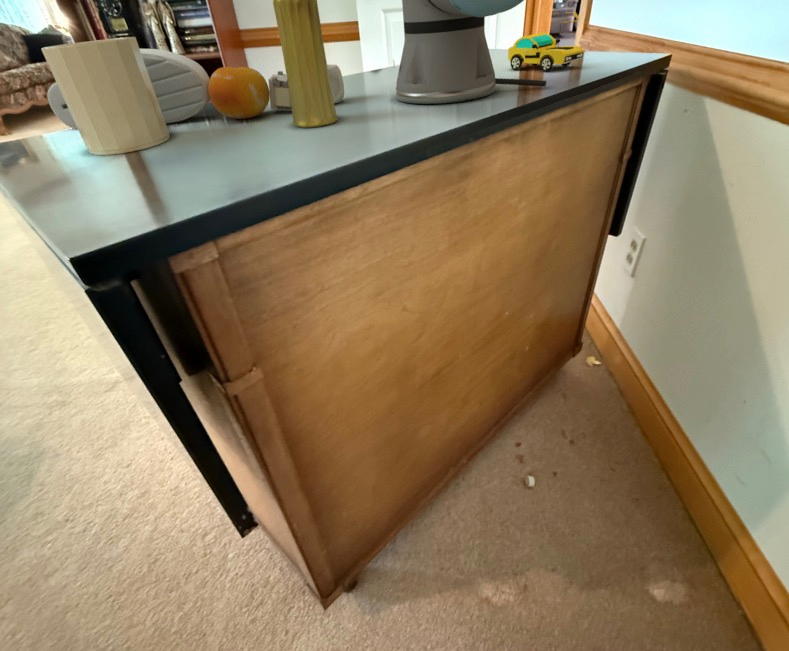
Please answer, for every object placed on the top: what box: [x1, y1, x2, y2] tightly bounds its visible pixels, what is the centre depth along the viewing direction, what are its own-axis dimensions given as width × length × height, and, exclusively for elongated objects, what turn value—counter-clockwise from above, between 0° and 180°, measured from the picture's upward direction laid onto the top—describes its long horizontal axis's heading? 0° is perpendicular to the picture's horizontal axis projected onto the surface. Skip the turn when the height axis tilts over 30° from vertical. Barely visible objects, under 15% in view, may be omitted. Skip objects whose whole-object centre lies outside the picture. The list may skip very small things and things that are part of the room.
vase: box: [272, 0, 339, 129], centre depth 60 cm, size 6×6×14 cm
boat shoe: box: [46, 48, 211, 130], centre depth 75 cm, size 10×29×10 cm
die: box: [327, 64, 345, 104], centre depth 74 cm, size 5×5×5 cm
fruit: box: [208, 66, 270, 120], centre depth 70 cm, size 8×8×8 cm
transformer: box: [268, 70, 292, 112], centre depth 78 cm, size 6×20×5 cm
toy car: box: [507, 11, 585, 73], centre depth 82 cm, size 12×8×8 cm, turn 40°
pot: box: [40, 36, 171, 156], centre depth 60 cm, size 10×10×12 cm
